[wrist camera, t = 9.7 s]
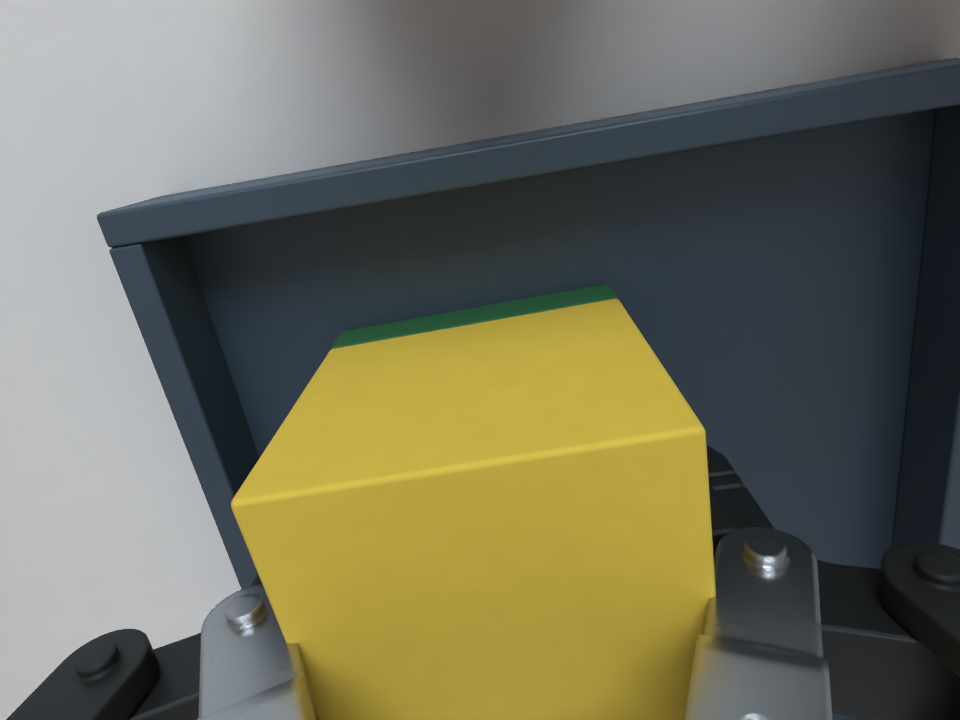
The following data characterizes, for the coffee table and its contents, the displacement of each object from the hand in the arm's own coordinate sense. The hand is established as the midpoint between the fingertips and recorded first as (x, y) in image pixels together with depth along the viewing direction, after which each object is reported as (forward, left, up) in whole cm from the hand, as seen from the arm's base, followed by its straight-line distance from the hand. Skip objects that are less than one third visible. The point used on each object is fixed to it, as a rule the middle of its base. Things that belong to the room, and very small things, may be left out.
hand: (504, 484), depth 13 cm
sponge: (0, 0, -1) cm, 1 cm away
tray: (+3, +2, -2) cm, 4 cm away
